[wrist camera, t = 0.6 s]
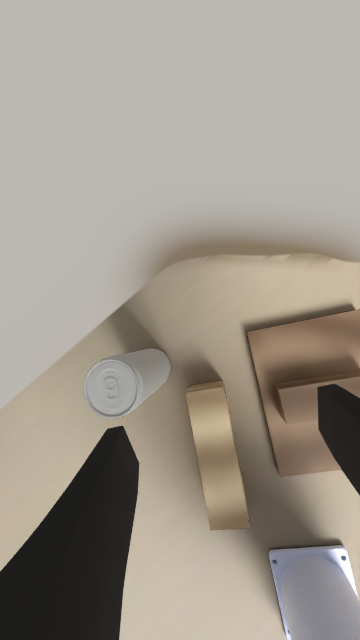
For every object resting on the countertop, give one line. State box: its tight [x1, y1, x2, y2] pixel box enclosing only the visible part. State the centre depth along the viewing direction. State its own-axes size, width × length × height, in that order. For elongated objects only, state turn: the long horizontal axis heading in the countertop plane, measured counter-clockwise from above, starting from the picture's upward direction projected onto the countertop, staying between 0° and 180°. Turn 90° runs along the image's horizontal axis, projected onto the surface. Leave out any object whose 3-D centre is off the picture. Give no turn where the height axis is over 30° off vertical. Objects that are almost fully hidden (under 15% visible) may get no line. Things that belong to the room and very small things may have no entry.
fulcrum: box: [247, 309, 360, 477], centre depth 26 cm, size 16×12×4 cm
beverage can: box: [84, 348, 171, 418], centre depth 25 cm, size 5×5×12 cm
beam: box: [186, 380, 250, 530], centre depth 28 cm, size 14×4×4 cm, turn 11°
